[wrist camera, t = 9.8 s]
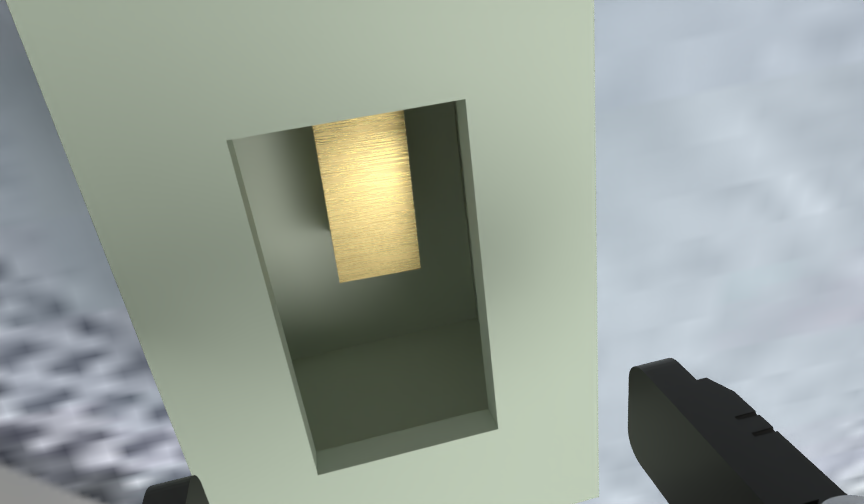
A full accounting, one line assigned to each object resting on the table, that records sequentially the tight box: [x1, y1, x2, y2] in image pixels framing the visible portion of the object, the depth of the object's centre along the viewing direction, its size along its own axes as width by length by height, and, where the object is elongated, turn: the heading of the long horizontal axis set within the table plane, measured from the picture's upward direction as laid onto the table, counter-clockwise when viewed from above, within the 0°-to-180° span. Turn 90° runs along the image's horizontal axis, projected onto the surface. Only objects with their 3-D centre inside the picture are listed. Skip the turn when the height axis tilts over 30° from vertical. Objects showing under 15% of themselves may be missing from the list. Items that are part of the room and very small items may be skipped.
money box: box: [6, 0, 599, 504], centre depth 22 cm, size 18×12×12 cm, turn 7°
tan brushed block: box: [312, 110, 421, 283], centre depth 23 cm, size 5×3×6 cm
